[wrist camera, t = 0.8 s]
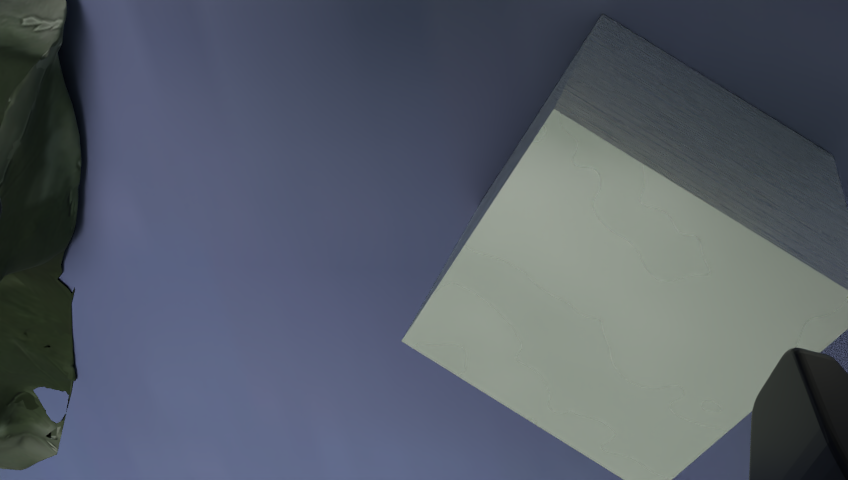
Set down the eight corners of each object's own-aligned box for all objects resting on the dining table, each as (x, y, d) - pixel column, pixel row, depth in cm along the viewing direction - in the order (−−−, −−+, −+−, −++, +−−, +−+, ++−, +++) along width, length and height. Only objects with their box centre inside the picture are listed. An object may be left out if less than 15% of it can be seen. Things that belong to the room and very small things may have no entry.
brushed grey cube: (833, 155, 17) (874, 306, 13) (669, 326, 21) (651, 496, 16) (602, 13, 18) (553, 109, 13) (477, 207, 21) (401, 341, 16)
